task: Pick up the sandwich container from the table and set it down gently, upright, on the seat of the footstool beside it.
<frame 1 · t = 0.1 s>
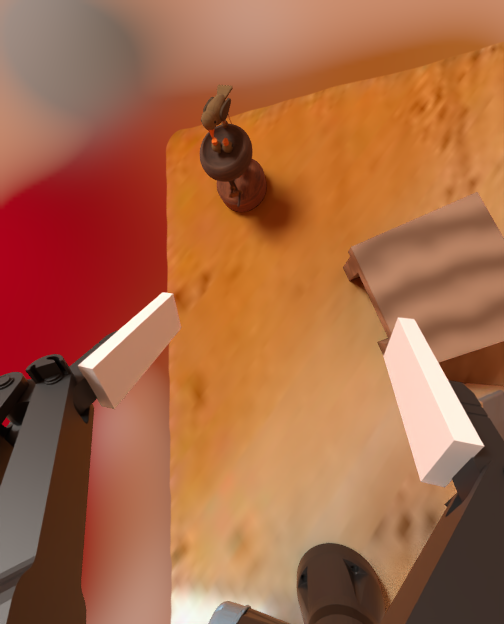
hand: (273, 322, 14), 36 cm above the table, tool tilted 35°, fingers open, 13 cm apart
sandwich container: (462, 406, 43), on the table
stool: (407, 293, 45), on the table
small figurine: (243, 192, 54), on the table
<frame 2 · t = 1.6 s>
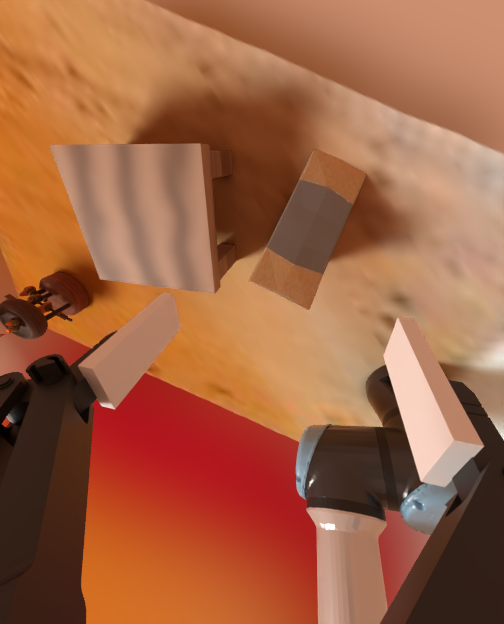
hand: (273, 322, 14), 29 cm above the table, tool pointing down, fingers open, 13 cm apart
sandwich container: (313, 213, 37), on the table
stool: (182, 209, 42), on the table
small figurine: (73, 292, 60), on the table
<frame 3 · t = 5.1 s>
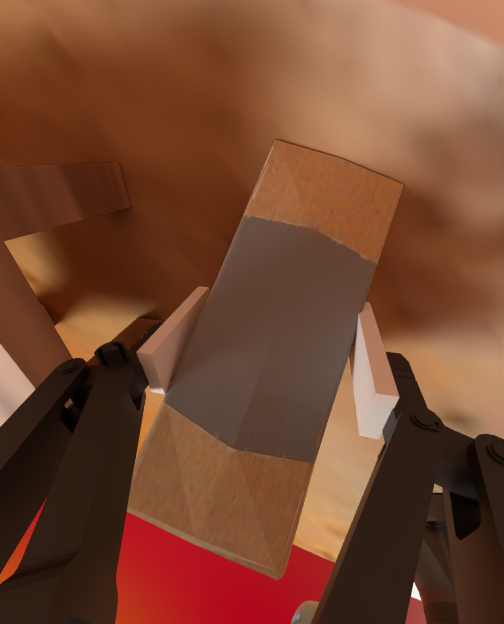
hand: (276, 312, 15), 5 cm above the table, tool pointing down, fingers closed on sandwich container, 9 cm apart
sandwich container: (292, 270, 19), on the table, touching gripper
stool: (66, 264, 24), on the table
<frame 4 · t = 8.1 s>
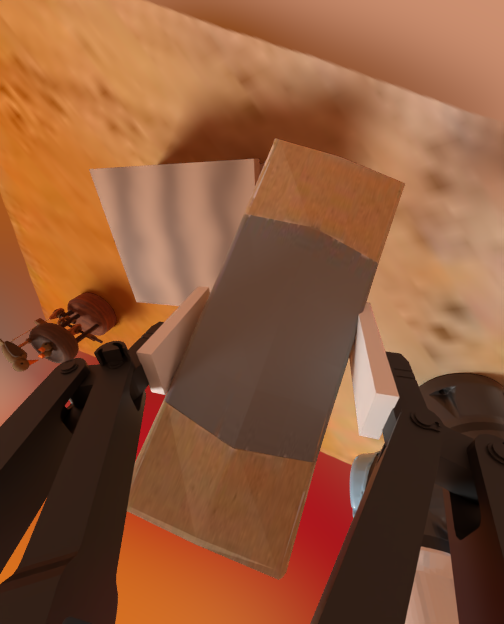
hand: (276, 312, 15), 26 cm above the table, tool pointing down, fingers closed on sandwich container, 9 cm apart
sandwich container: (293, 269, 19), point 21 cm above the table, touching gripper
stool: (216, 225, 40), on the table
small figurine: (100, 311, 60), on the table
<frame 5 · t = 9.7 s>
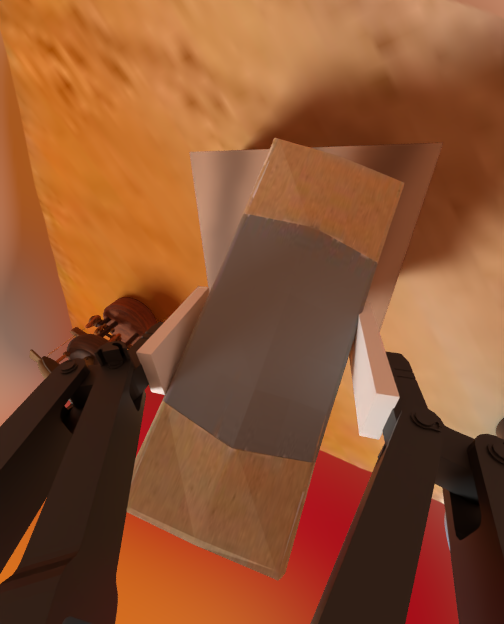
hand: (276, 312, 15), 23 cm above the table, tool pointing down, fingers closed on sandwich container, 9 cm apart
sandwich container: (292, 269, 19), point 18 cm above the table, touching gripper
stool: (302, 226, 34), on the table
small figurine: (138, 318, 53), on the table
when the fingers open (18 cm above the table, at t = 11.2 s): sandwich container drops 1 cm, resting on stool.
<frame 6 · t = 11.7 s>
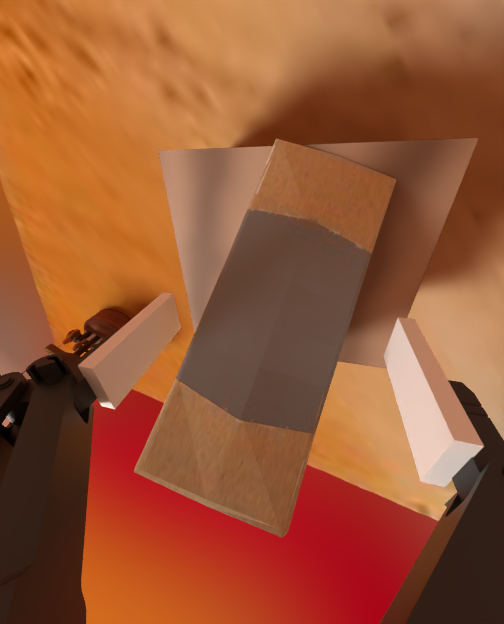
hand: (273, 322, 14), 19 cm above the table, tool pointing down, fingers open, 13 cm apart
sandwich container: (293, 261, 20), point 12 cm above the table, touching stool
stool: (299, 235, 30), on the table
small figurine: (123, 331, 49), on the table
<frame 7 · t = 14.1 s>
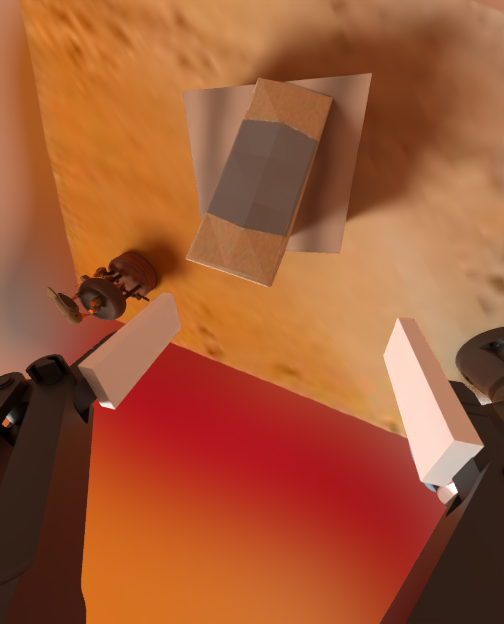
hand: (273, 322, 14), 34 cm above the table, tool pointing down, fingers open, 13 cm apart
sandwich container: (275, 169, 29), point 12 cm above the table, touching stool
stool: (281, 172, 40), on the table
small figurine: (140, 273, 59), on the table
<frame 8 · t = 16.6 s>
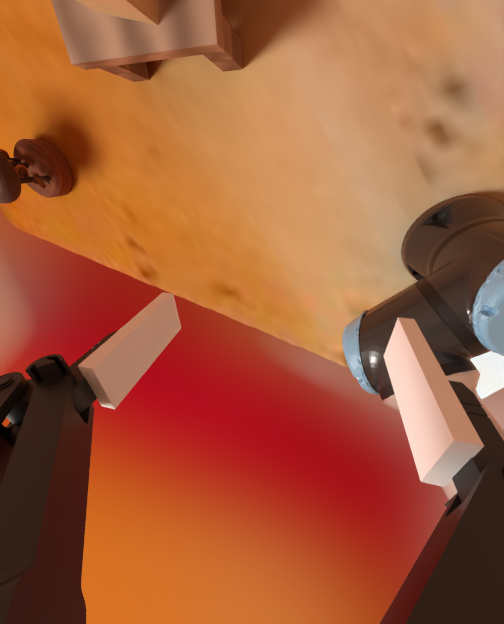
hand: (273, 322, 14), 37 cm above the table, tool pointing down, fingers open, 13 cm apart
small figurine: (55, 170, 52), on the table
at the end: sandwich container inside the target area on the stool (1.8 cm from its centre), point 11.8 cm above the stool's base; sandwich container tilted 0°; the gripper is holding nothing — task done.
